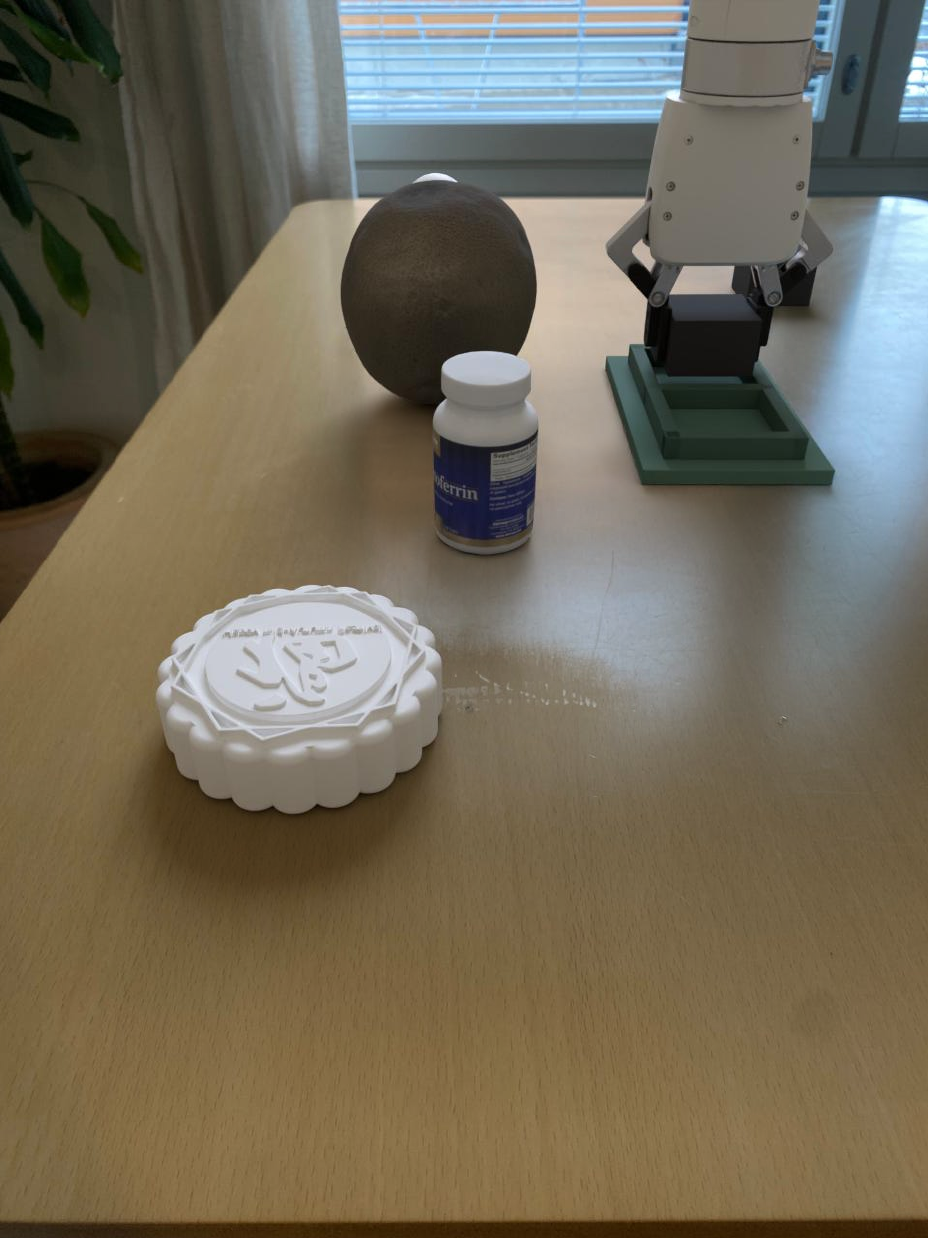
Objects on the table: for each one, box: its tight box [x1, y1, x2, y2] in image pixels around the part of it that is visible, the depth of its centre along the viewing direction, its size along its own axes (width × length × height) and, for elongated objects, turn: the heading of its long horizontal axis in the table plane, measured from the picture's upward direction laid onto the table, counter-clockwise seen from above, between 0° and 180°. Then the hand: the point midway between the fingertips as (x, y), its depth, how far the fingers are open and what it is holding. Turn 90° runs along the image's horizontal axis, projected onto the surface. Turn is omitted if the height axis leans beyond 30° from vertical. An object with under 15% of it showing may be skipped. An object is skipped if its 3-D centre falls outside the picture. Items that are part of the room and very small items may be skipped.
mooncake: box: [155, 584, 443, 815], centre depth 41 cm, size 12×12×4 cm
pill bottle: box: [432, 351, 539, 555], centre depth 52 cm, size 6×6×10 cm
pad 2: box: [730, 243, 818, 306], centre depth 90 cm, size 6×6×4 cm
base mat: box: [604, 343, 836, 485], centre depth 67 cm, size 12×20×2 cm, turn 0°
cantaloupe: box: [340, 180, 538, 405], centre depth 66 cm, size 14×14×15 cm
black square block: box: [662, 293, 762, 377], centre depth 68 cm, size 6×6×4 cm
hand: (702, 353), depth 69 cm, fingers closed on black square block, 5 cm apart
